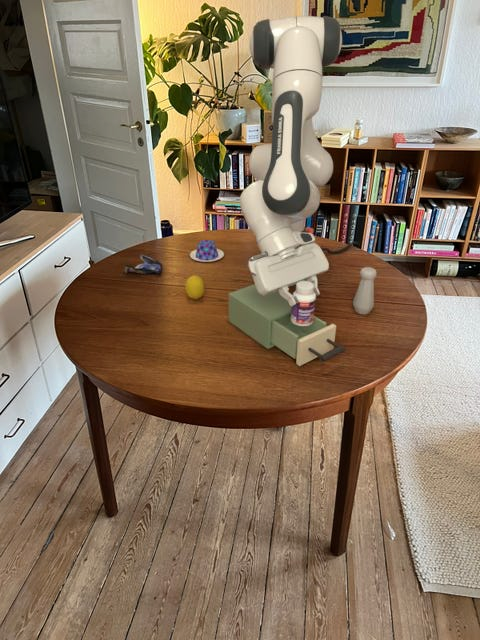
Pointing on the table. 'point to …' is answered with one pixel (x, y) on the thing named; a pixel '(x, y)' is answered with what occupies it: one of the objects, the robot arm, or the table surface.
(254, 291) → the cabinet
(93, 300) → the table surface
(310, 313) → the pill bottle
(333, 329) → the drawer
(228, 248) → the table surface
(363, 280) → the salt shaker
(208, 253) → the pudding
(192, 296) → the lemon
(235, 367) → the table surface
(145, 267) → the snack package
